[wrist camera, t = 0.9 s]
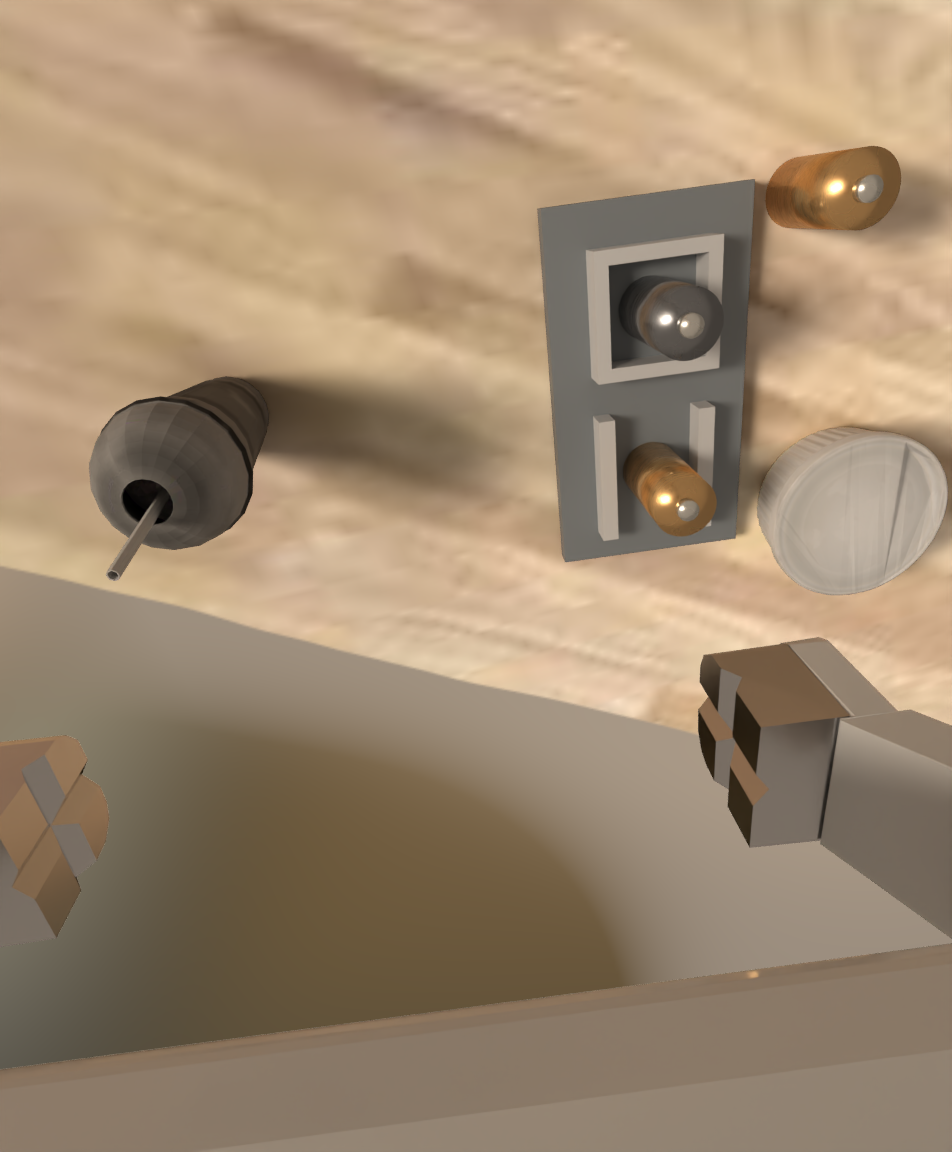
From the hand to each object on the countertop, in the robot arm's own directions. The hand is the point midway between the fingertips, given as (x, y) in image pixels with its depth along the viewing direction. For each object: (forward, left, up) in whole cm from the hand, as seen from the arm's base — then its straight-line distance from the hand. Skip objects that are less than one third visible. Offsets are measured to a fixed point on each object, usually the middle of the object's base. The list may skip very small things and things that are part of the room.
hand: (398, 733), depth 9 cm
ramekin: (+14, +26, -38) cm, 48 cm away
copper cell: (-5, +23, -38) cm, 44 cm away
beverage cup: (+3, -12, -38) cm, 40 cm away
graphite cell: (0, +14, -36) cm, 39 cm away
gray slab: (+5, +14, -37) cm, 40 cm away
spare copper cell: (+10, +14, -36) cm, 40 cm away
